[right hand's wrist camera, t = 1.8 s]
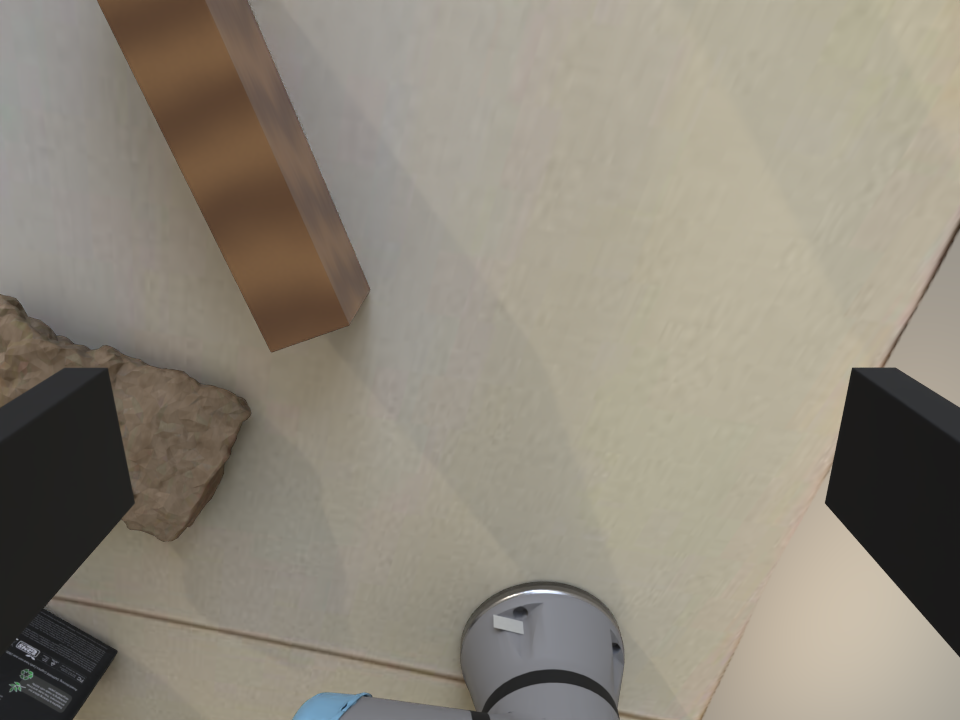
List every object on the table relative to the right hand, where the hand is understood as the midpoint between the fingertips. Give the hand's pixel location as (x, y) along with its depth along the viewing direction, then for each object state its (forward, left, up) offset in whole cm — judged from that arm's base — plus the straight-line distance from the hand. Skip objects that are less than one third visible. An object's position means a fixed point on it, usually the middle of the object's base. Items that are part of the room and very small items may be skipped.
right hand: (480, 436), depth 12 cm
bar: (-3, +16, -40) cm, 44 cm away
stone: (-29, +20, -40) cm, 54 cm away
